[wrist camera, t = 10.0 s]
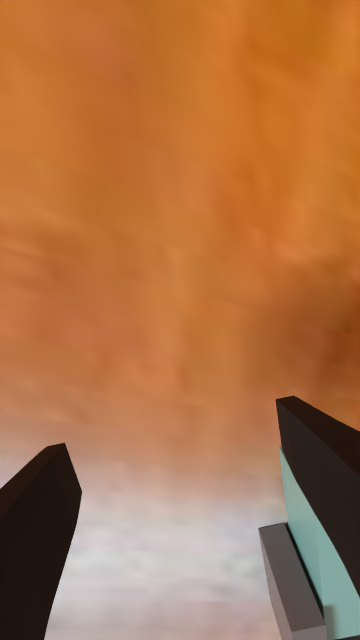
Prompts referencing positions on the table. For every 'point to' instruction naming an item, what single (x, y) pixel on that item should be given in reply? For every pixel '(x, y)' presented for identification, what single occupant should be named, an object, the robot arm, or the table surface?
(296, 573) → the header
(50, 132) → the table surface
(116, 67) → the table surface
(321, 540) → the plug
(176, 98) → the table surface
